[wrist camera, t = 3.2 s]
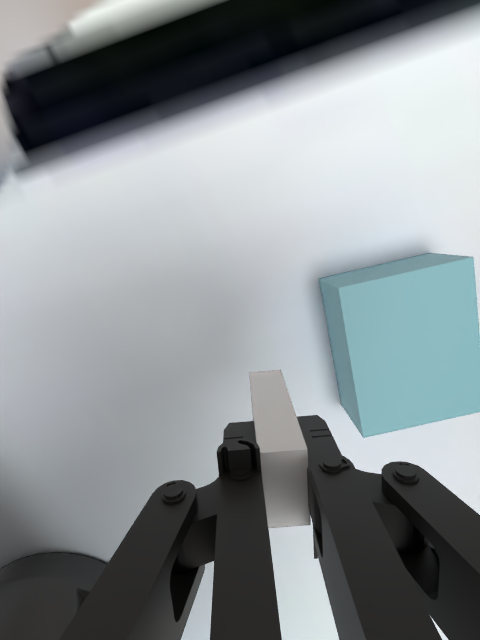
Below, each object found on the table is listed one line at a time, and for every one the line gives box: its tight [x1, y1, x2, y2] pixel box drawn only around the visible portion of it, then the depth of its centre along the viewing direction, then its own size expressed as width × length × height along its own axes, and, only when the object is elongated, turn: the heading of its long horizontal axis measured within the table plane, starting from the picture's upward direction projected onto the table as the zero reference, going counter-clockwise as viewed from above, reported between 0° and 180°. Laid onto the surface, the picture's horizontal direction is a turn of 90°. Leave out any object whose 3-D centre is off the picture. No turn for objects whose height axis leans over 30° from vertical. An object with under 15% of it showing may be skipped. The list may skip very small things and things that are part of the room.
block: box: [319, 253, 480, 438], centre depth 25 cm, size 8×10×5 cm
